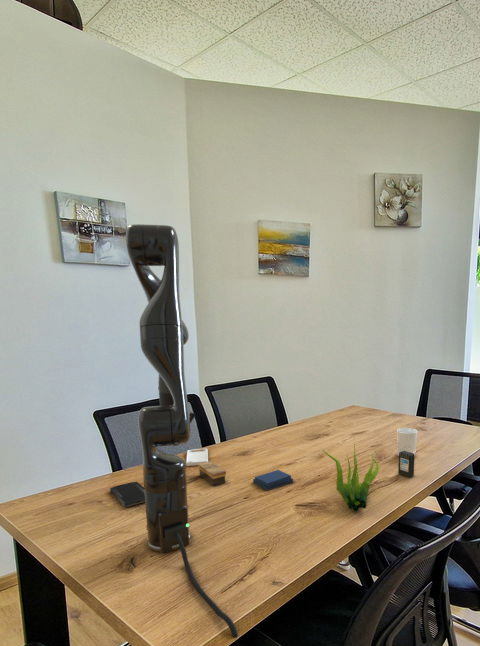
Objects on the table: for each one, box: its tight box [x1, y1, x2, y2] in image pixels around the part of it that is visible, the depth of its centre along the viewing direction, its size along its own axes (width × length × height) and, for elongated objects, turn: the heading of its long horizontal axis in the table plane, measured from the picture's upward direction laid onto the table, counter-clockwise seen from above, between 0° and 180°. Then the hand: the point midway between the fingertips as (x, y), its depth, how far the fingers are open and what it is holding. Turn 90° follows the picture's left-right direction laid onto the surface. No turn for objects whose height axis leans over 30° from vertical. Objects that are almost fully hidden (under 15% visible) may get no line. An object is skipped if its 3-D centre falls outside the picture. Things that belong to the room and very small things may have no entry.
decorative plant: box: [321, 436, 380, 513], centre depth 132 cm, size 18×30×15 cm, turn 163°
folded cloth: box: [252, 469, 294, 491], centre depth 139 cm, size 8×10×2 cm
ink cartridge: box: [397, 451, 416, 478], centre depth 145 cm, size 5×2×8 cm, turn 44°
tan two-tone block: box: [197, 460, 227, 487], centre depth 141 cm, size 12×4×4 cm, turn 40°
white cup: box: [396, 427, 419, 457], centre depth 164 cm, size 8×8×10 cm
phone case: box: [185, 447, 209, 467], centre depth 160 cm, size 7×1×15 cm
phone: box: [109, 481, 145, 508], centre depth 128 cm, size 8×1×15 cm
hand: (175, 444), depth 132 cm, fingers closed
